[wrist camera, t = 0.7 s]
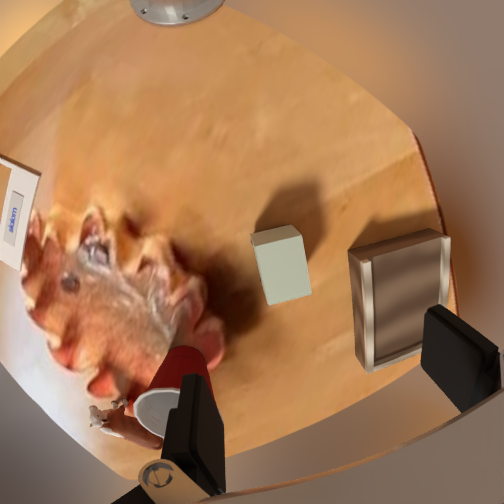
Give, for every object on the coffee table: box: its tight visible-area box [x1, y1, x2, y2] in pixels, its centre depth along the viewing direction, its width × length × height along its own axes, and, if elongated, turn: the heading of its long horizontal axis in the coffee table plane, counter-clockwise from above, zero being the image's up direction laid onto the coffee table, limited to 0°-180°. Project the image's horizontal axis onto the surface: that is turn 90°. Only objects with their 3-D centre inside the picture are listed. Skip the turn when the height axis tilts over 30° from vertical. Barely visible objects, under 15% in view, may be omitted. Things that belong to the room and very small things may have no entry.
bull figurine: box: [89, 398, 163, 450], centre depth 40 cm, size 4×13×8 cm, turn 51°
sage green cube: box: [250, 225, 312, 305], centre depth 35 cm, size 7×5×6 cm
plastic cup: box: [134, 346, 223, 438], centre depth 36 cm, size 11×11×12 cm
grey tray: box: [348, 228, 450, 374], centre depth 40 cm, size 18×14×5 cm
